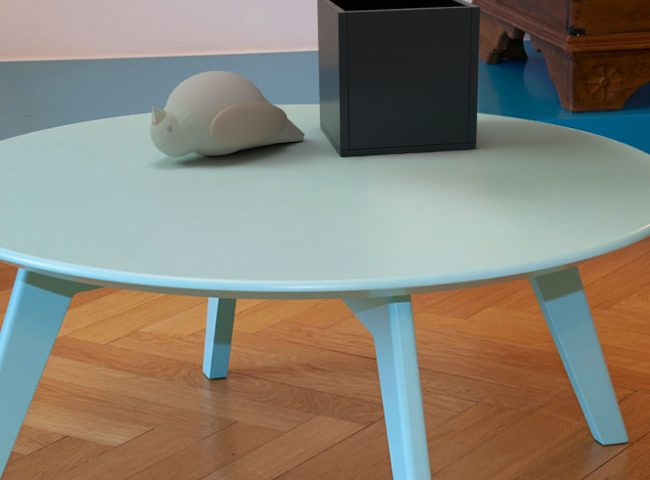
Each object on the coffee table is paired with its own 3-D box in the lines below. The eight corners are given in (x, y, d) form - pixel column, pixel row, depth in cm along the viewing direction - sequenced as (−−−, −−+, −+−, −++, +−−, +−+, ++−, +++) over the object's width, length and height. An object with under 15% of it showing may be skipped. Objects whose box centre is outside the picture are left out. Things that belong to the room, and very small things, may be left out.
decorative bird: (129, 159, 103) (122, 76, 100) (263, 130, 113) (260, 54, 110) (188, 176, 97) (182, 87, 94) (324, 143, 107) (322, 63, 104)
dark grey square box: (442, 120, 115) (444, -8, 110) (476, 149, 104) (480, 6, 99) (320, 127, 114) (316, -3, 109) (340, 156, 102) (338, 12, 97)
